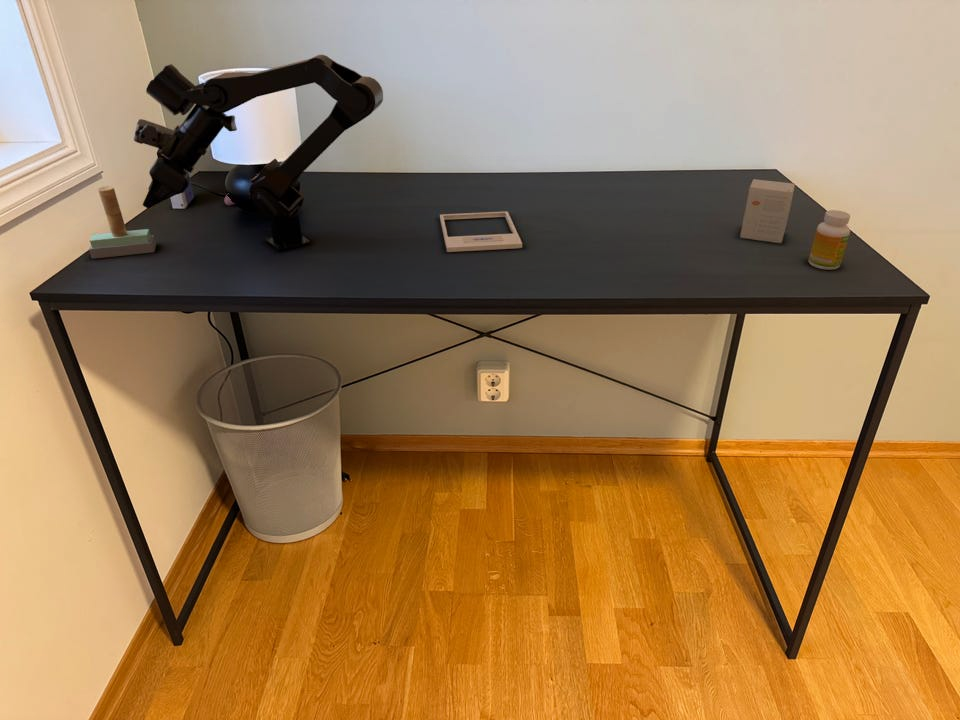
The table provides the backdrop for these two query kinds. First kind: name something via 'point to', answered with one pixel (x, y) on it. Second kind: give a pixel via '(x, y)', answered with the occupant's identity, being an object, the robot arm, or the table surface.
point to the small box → (767, 210)
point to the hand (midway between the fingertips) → (147, 198)
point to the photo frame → (480, 240)
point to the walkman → (183, 197)
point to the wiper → (118, 232)
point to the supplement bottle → (830, 241)
